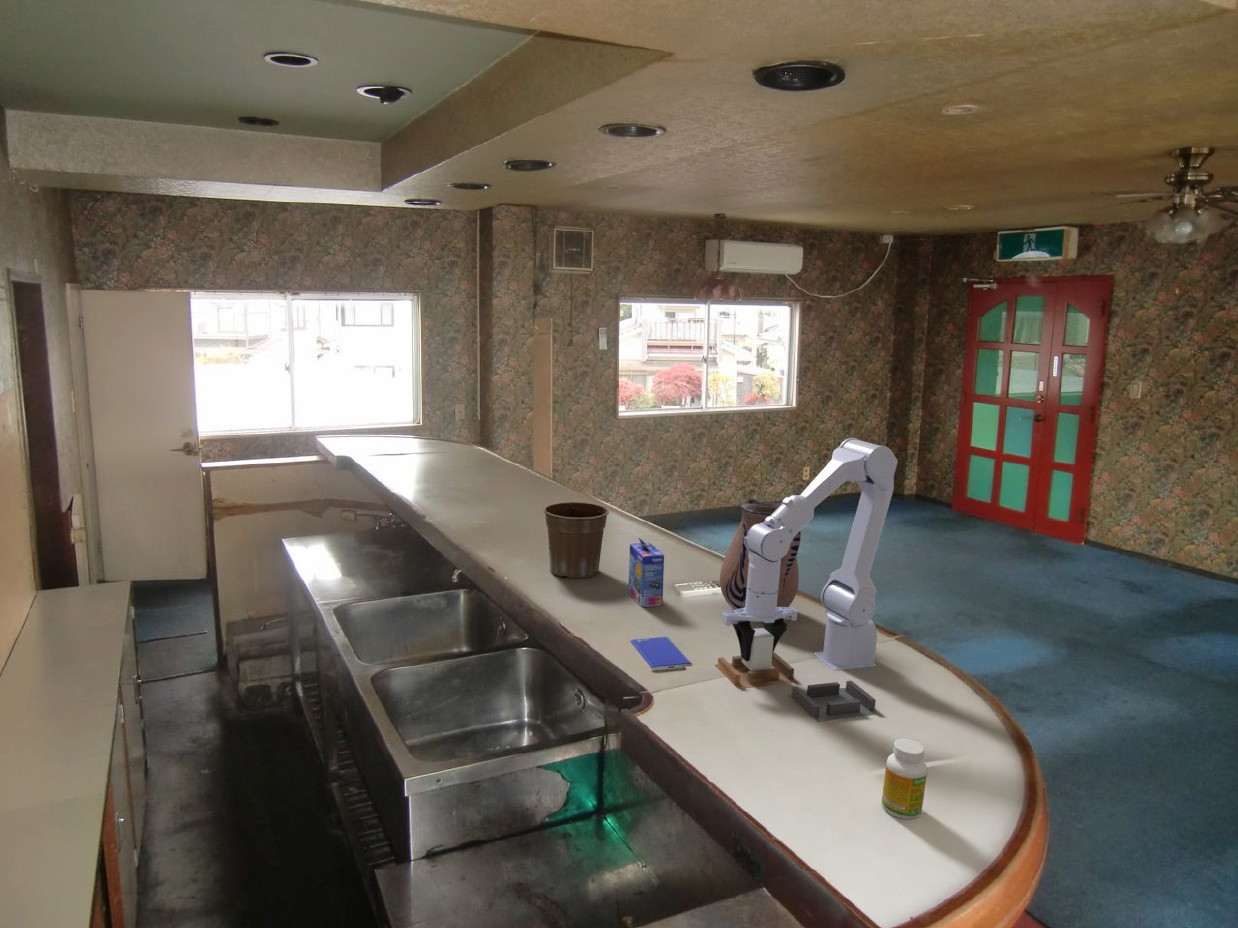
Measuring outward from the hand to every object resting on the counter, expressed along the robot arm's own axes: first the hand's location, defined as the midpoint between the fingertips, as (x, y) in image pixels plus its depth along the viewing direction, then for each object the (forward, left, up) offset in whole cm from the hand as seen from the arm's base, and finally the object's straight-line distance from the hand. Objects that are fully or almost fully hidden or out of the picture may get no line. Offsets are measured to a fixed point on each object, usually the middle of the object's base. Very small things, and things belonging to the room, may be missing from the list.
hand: (756, 657), depth 158 cm
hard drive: (+14, -12, -4) cm, 19 cm away
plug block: (0, 0, -1) cm, 1 cm away
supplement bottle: (-1, +43, -4) cm, 43 cm away
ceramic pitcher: (-16, -28, -4) cm, 32 cm away
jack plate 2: (-8, +14, -4) cm, 17 cm away
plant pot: (+18, -64, -4) cm, 67 cm away
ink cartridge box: (+7, -42, -4) cm, 43 cm away
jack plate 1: (0, 0, -4) cm, 4 cm away
